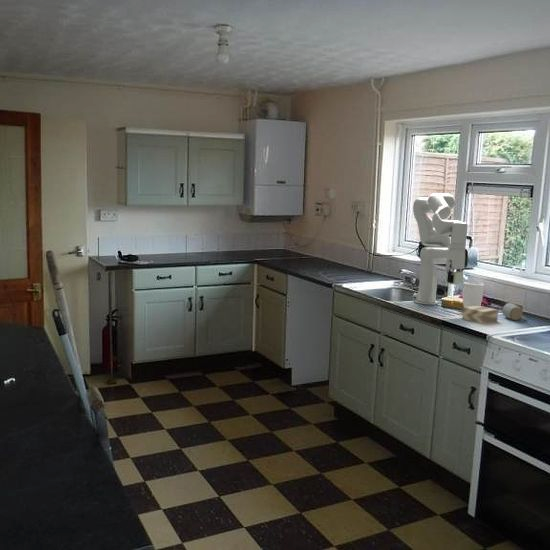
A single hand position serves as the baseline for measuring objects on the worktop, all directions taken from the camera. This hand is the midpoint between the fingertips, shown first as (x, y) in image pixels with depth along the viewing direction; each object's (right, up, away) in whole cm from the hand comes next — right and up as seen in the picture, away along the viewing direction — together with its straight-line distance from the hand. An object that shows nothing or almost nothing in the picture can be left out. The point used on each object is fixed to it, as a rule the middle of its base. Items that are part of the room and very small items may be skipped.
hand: (453, 281), depth 316 cm
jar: (+14, -16, +16) cm, 26 cm away
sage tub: (0, -1, 0) cm, 1 cm away
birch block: (+11, -19, -5) cm, 23 cm away
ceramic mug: (+31, -19, +1) cm, 37 cm away
